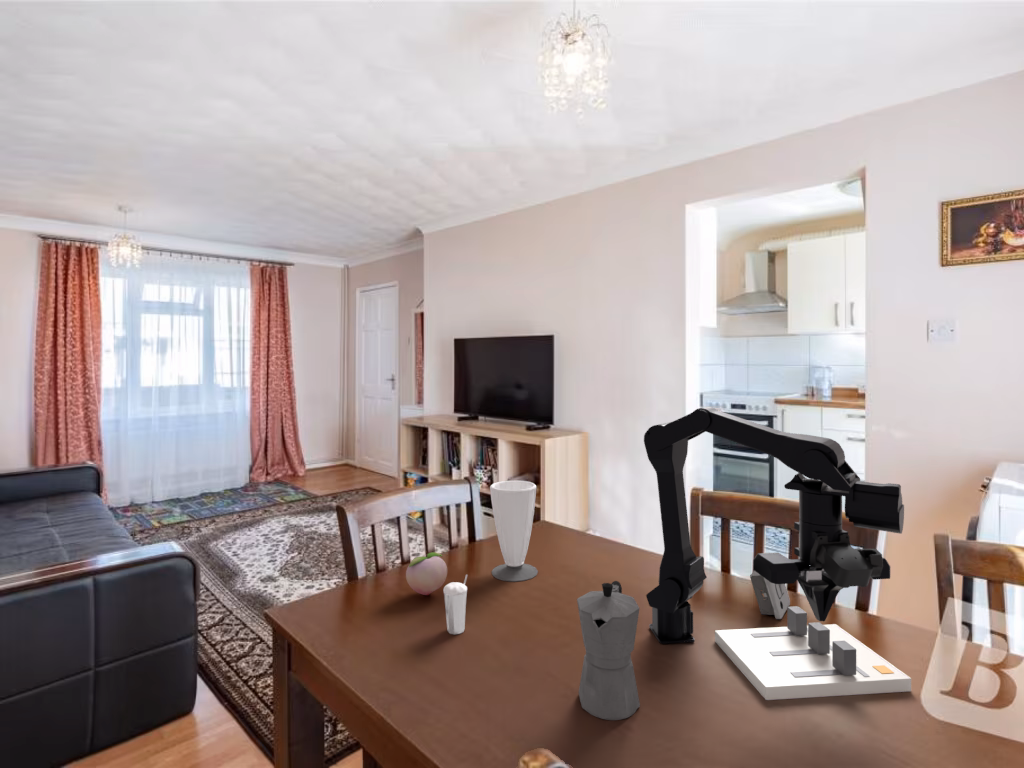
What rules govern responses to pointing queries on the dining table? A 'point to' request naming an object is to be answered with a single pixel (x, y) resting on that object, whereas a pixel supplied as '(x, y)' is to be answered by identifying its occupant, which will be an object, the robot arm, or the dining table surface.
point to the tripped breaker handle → (844, 657)
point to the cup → (513, 527)
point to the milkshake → (455, 606)
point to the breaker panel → (806, 664)
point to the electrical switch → (770, 596)
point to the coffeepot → (608, 652)
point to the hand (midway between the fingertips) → (820, 620)
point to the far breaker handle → (797, 620)
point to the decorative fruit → (426, 573)
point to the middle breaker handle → (819, 638)
